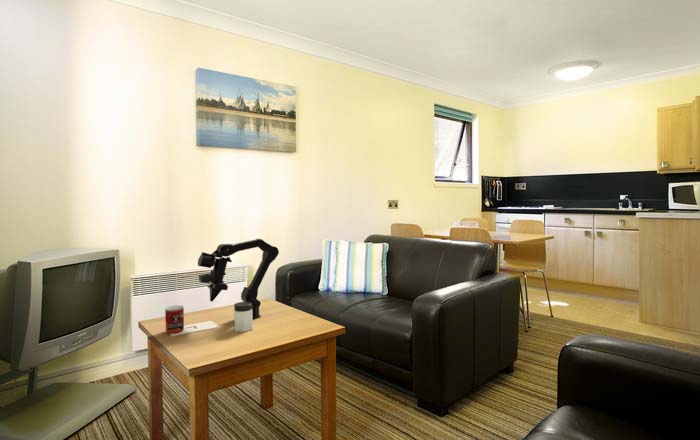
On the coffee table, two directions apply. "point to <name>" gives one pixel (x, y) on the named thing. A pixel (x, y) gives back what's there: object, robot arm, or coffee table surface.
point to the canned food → (174, 319)
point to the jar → (243, 316)
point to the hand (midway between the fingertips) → (211, 301)
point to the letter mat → (197, 327)
